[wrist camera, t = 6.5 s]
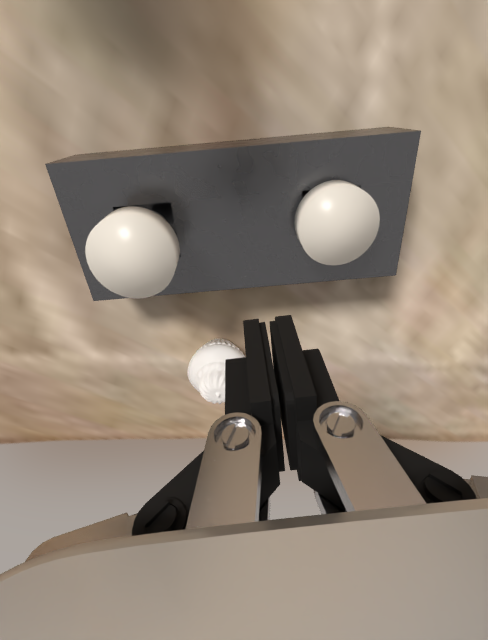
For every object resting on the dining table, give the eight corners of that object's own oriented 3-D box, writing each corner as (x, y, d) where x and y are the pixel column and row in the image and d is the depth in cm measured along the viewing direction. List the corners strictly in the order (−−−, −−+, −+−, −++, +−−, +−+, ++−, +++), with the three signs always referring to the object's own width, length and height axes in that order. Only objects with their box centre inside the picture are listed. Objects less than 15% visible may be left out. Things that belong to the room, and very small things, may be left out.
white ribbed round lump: (200, 377, 38) (195, 426, 32) (182, 333, 35) (173, 379, 29) (254, 365, 38) (259, 414, 32) (241, 320, 34) (243, 364, 29)
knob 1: (180, 188, 24) (166, 211, 19) (191, 258, 27) (182, 294, 21) (106, 195, 24) (72, 219, 19) (125, 263, 27) (100, 301, 22)
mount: (389, 127, 26) (421, 130, 22) (373, 252, 31) (395, 275, 27) (75, 155, 26) (45, 164, 22) (111, 274, 31) (93, 300, 27)
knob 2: (353, 167, 26) (385, 182, 21) (347, 233, 29) (374, 261, 24) (285, 173, 26) (299, 189, 21) (286, 239, 29) (299, 268, 24)
